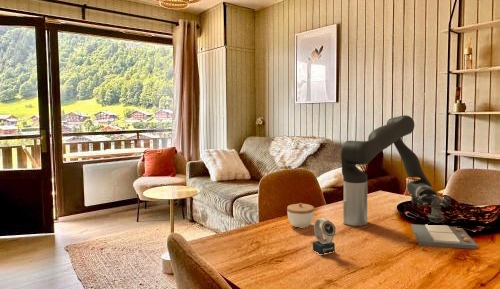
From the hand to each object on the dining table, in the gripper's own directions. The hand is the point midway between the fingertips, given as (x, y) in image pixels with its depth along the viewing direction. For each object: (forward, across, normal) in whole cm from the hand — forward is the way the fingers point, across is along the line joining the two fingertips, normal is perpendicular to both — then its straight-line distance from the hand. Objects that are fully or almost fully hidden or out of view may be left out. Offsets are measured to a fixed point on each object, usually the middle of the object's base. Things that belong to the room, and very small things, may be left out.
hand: (433, 204), depth 141 cm
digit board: (+18, -1, +7) cm, 19 cm away
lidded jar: (+14, -51, +7) cm, 53 cm away
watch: (+38, -40, +7) cm, 56 cm away
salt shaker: (+4, 0, +7) cm, 8 cm away
